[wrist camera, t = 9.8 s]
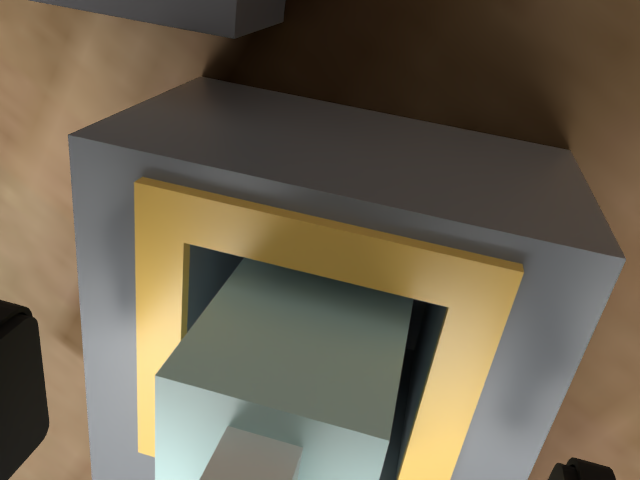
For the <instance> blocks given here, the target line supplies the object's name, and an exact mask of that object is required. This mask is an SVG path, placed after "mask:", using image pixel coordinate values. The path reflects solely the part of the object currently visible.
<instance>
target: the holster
mask: <svg viewBox="0 0 640 480" xmlns="http://www.w3.org/2000/svg"><path fill="white" fill-rule="evenodd" d="M30 1H36V2H41V3H46V4H52V5H57V6H62V7H68V8H73V9H78V10H83V11H89V12H94V13H99V14H105V15H110V16H115V17H121V18H126V19H131V20H137V21H142V22H147V23H153V24H158V25H163V26H169V27H174V28H179V29H185V30H190V31H195V32H201V33H206V34H211V35H216V36H222V37H227V38H232V39H235V38H238V37H241V36H244V35H247V34H250V33H253V32H256V31H259V30H261V29H264V28H267V27H270V26H273V25H276V24H279V23H282V22H283V20H284V10H285V1H286V0H30Z"/></svg>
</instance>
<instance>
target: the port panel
mask: <svg viewBox="0 0 640 480" xmlns="http://www.w3.org/2000/svg"><path fill="white" fill-rule="evenodd" d="M68 141H69V155H70V170H71V184H72V198H73V213H74V227H75V241H76V256H77V270H78V284H79V299H80V313H81V327H82V341H83V356H84V370H85V384H86V399H87V413H88V427H89V442H90V456H91V470H92V480H155V375H156V373H157V372H158V371H159V369H160V368H161V367H162V365H163V364H164V363H165V361H166V360H167V359H168V358H169V356H170V355H171V354H172V352H173V351H174V350H175V348H176V347H177V346H178V344H179V343H180V342H181V340H182V339H183V338H184V336H185V335H186V334H187V332H188V331H189V330H190V328H191V327H192V326H193V324H194V323H195V322H196V321H197V319H198V318H199V317H200V315H201V314H202V313H203V311H204V310H205V309H206V307H207V306H208V305H209V303H210V302H211V301H212V299H213V298H214V297H215V295H216V294H217V293H218V291H219V290H220V289H221V288H222V286H223V285H224V284H225V282H226V281H227V280H228V278H229V277H230V276H231V274H232V273H233V272H234V270H235V269H236V268H237V266H238V265H239V264H240V262H241V261H242V260H243V258H244V257H245V258H249V259H253V260H257V261H261V262H265V263H269V264H273V265H277V266H281V267H285V268H289V269H294V270H298V271H302V272H306V273H310V274H314V275H318V276H322V277H326V278H330V279H334V280H338V281H343V282H347V283H351V284H355V285H359V286H363V287H367V288H371V289H375V290H379V291H383V292H387V293H392V294H396V295H400V296H404V297H408V298H412V299H414V300H413V306H412V312H411V317H410V323H409V329H408V335H407V341H406V347H405V353H404V359H403V365H402V370H401V376H400V382H399V388H398V394H397V400H396V406H395V412H394V418H393V423H392V429H391V435H390V441H389V445H388V449H387V452H386V456H385V460H384V464H383V467H382V471H381V475H380V479H379V480H527V479H528V477H529V475H530V473H531V470H532V468H533V466H534V464H535V461H536V459H537V457H538V455H539V452H540V450H541V448H542V446H543V444H544V441H545V439H546V437H547V435H548V432H549V430H550V428H551V426H552V423H553V421H554V419H555V417H556V415H557V412H558V410H559V408H560V406H561V403H562V401H563V399H564V397H565V394H566V392H567V390H568V388H569V386H570V383H571V381H572V379H573V377H574V374H575V372H576V370H577V368H578V365H579V363H580V361H581V359H582V357H583V354H584V352H585V350H586V348H587V345H588V343H589V341H590V339H591V336H592V334H593V332H594V330H595V328H596V325H597V323H598V321H599V319H600V316H601V314H602V312H603V310H604V307H605V305H606V303H607V301H608V299H609V296H610V294H611V292H612V290H613V287H614V285H615V283H616V281H617V278H618V276H619V274H620V272H621V270H622V267H623V265H624V263H625V261H626V258H625V256H624V254H623V252H622V250H621V248H620V246H619V244H618V242H617V240H616V238H615V237H614V235H613V233H612V231H611V229H610V227H609V225H608V223H607V221H606V219H605V217H604V215H603V213H602V211H601V209H600V207H599V205H598V203H597V201H596V199H595V197H594V195H593V193H592V191H591V190H590V188H589V186H588V184H587V182H586V180H585V178H584V176H583V174H582V172H581V170H580V168H579V166H578V164H577V162H576V160H575V158H574V156H573V154H572V152H571V150H567V149H561V148H556V147H551V146H546V145H541V144H536V143H531V142H526V141H521V140H516V139H511V138H506V137H501V136H496V135H491V134H486V133H481V132H476V131H471V130H466V129H461V128H456V127H451V126H446V125H441V124H436V123H431V122H426V121H421V120H416V119H411V118H406V117H401V116H396V115H391V114H386V113H381V112H376V111H371V110H366V109H361V108H356V107H351V106H346V105H341V104H336V103H331V102H326V101H321V100H316V99H311V98H306V97H301V96H296V95H291V94H286V93H281V92H276V91H271V90H266V89H261V88H256V87H251V86H246V85H241V84H236V83H231V82H226V81H221V80H216V79H211V78H206V77H198V78H196V79H194V80H191V81H189V82H187V83H185V84H182V85H180V86H178V87H176V88H173V89H171V90H169V91H166V92H164V93H162V94H160V95H157V96H155V97H153V98H151V99H148V100H146V101H144V102H141V103H139V104H137V105H135V106H132V107H130V108H128V109H126V110H123V111H121V112H119V113H116V114H114V115H112V116H110V117H107V118H105V119H103V120H101V121H98V122H96V123H94V124H92V125H89V126H87V127H85V128H82V129H80V130H78V131H76V132H73V133H71V134H69V135H68Z"/></svg>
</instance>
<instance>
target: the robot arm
mask: <svg viewBox="0 0 640 480" xmlns="http://www.w3.org/2000/svg"><path fill="white" fill-rule="evenodd" d="M48 428H49V416H48V407H47V398H46V389H45V381H44V372H43V363H42V355H41V346H40V337H39V329H38V322H37V320H36V319H35V318H34V317H33V316H32V313H31V311H30V309H29V308H27V307H24V306H21V305H17V304H13V303H10V302H6V301H3V300H0V480H8V479H9V478H10V477H11V476H12V475H13V474H14V473H15V471H16V470H17V469H18V468H19V467H20V466H21V465H22V464H23V462H24V461H25V460H26V459H27V458H28V457H29V456H30V455H31V453H32V452H33V451H34V450H35V449H36V448H37V447H38V446H39V444H40V443H41V442H42V441H43V439H44V438H45V436H46V434H47V431H48ZM548 480H616V478H615V475H614V473H613V470H612V469H611V468H610V467H606V466H603V465H599V464H596V463H592V462H588V461H585V460H581V459H577V458H571V459H569V461H568V462H567V464H566V465H564V464H561V463H557V464H556V465H555V466H554V468H553V470H552V472H551V474H550V477H549V479H548Z"/></svg>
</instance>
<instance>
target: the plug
mask: <svg viewBox="0 0 640 480" xmlns="http://www.w3.org/2000/svg"><path fill="white" fill-rule="evenodd" d="M413 300H414V299H412V298H408V297H404V296H400V295H396V294H392V293H387V292H383V291H379V290H375V289H371V288H367V287H363V286H359V285H355V284H351V283H347V282H343V281H338V280H334V279H330V278H326V277H322V276H318V275H314V274H310V273H306V272H302V271H298V270H294V269H289V268H285V267H281V266H277V265H273V264H269V263H265V262H261V261H257V260H253V259H249V258H245V257H244V258H243V260H242V261H241V262H240V264H239V265H238V266H237V268H236V269H235V270H234V272H233V273H232V274H231V276H230V277H229V278H228V280H227V281H226V282H225V284H224V285H223V286H222V288H221V289H220V290H219V291H218V293H217V294H216V295H215V297H214V298H213V299H212V301H211V302H210V303H209V305H208V306H207V307H206V309H205V310H204V311H203V313H202V314H201V315H200V317H199V318H198V319H197V321H196V322H195V323H194V324H193V326H192V327H191V328H190V330H189V331H188V332H187V334H186V335H185V336H184V338H183V339H182V340H181V342H180V343H179V344H178V346H177V347H176V348H175V350H174V351H173V352H172V354H171V355H170V356H169V358H168V359H167V360H166V361H165V363H164V364H163V365H162V367H161V368H160V369H159V371H158V372H157V373H156V375H155V480H379V479H380V475H381V471H382V467H383V464H384V460H385V456H386V452H387V449H388V445H389V441H390V435H391V429H392V423H393V418H394V412H395V406H396V400H397V394H398V388H399V382H400V376H401V370H402V365H403V359H404V353H405V347H406V341H407V335H408V329H409V323H410V317H411V312H412V306H413Z"/></svg>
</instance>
